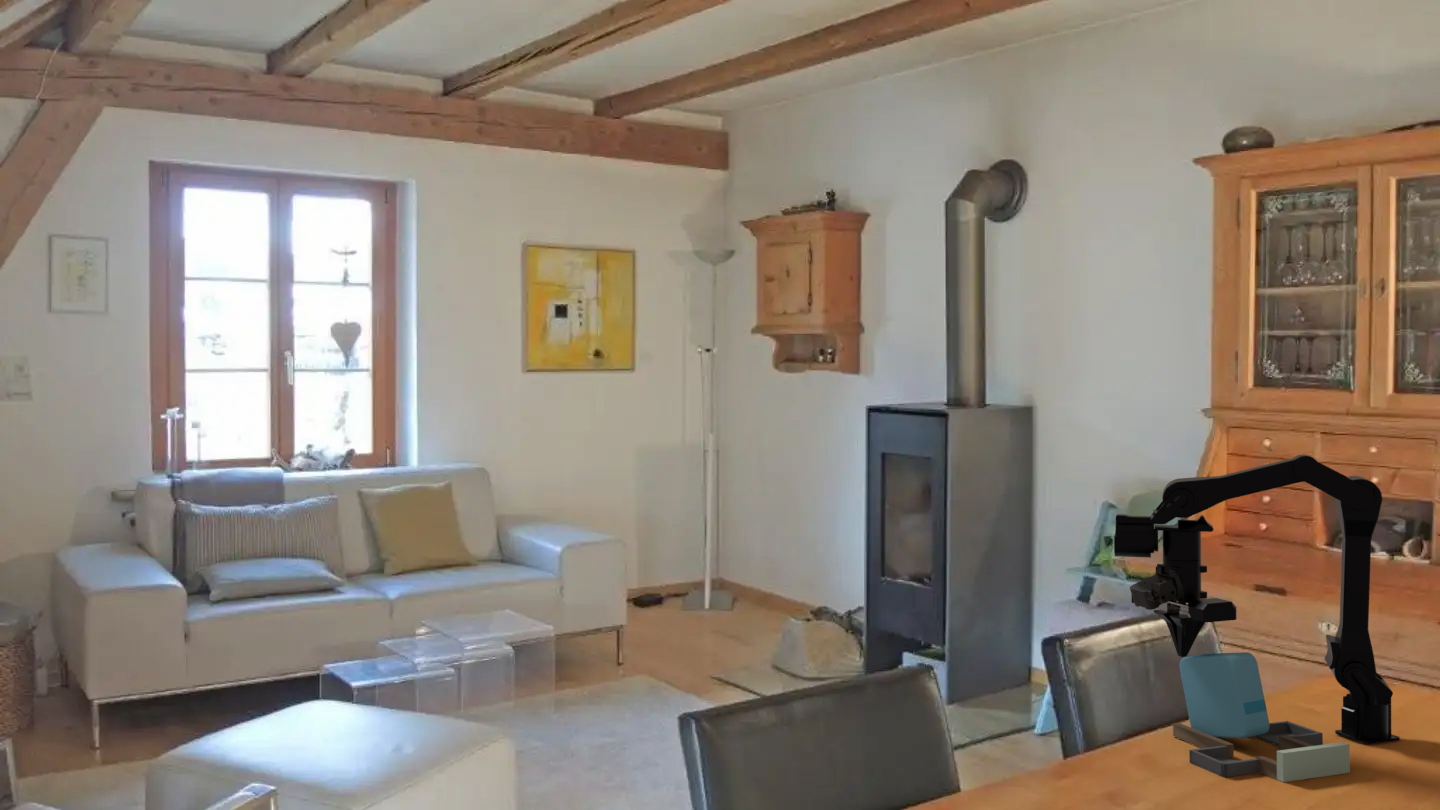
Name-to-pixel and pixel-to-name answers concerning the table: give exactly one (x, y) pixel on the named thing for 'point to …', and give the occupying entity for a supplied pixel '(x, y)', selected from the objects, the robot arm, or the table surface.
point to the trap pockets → (1226, 767)
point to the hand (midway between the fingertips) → (1182, 656)
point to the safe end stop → (1313, 761)
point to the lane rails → (1207, 740)
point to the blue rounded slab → (1224, 694)
